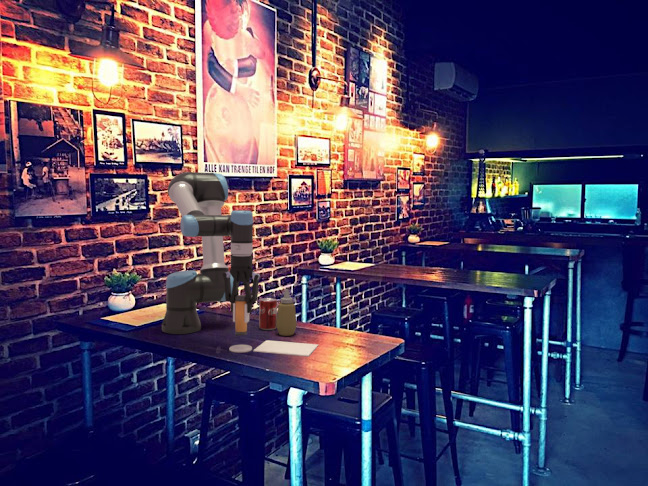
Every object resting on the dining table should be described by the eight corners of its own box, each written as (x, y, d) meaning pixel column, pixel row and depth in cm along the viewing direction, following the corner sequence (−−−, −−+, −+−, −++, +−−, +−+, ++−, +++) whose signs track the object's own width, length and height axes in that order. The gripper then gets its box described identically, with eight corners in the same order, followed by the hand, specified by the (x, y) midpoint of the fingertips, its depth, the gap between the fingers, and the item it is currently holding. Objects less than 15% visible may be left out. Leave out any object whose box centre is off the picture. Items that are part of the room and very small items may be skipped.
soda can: (278, 326, 224) (278, 298, 223) (275, 330, 216) (275, 301, 215) (261, 325, 224) (261, 297, 223) (257, 330, 217) (257, 300, 216)
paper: (253, 351, 187) (253, 350, 187) (266, 341, 200) (266, 340, 200) (308, 356, 182) (308, 355, 182) (318, 345, 196) (318, 344, 196)
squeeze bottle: (300, 333, 213) (300, 288, 212) (290, 338, 206) (291, 291, 204) (282, 330, 217) (282, 286, 215) (272, 335, 209) (272, 289, 208)
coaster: (225, 351, 186) (225, 349, 186) (234, 345, 194) (234, 343, 194) (247, 353, 184) (247, 351, 184) (255, 347, 192) (255, 345, 192)
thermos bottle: (233, 335, 187) (233, 296, 186) (237, 332, 191) (237, 294, 190) (244, 335, 186) (244, 297, 185) (248, 333, 190) (249, 295, 189)
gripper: (214, 255, 184) (214, 322, 186) (260, 257, 181) (259, 325, 182) (223, 253, 192) (223, 317, 194) (267, 254, 188) (267, 320, 190)
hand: (241, 321), depth 188 cm, fingers closed on thermos bottle, 3 cm apart
